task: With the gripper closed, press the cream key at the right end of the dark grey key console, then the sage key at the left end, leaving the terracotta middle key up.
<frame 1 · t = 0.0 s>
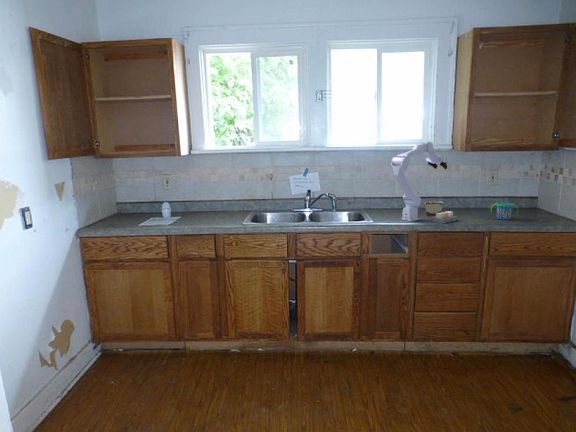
hand: (441, 167, 261), 32 cm above the worktop, tool tilted 50°, fingers open, 7 cm apart
key cream: (448, 214, 249), point 4 cm above the worktop, slide at 0.0 cm
key terracotta: (444, 215, 247), point 4 cm above the worktop, slide at 0.0 cm
key sage: (439, 216, 244), point 4 cm above the worktop, slide at 0.0 cm
key console: (444, 220, 247), on the worktop
snack cup: (503, 219, 250), on the worktop
half round cake: (432, 216, 264), on the worktop
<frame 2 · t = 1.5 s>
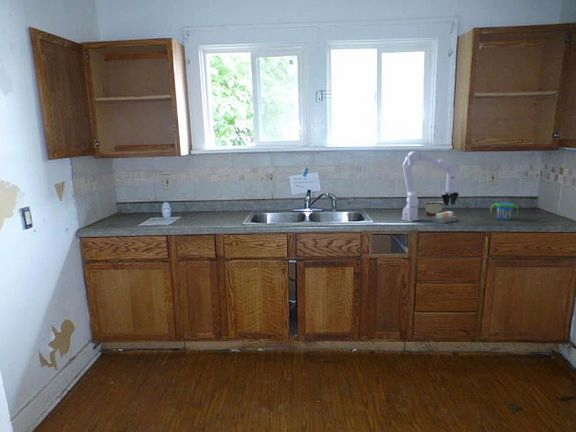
hand: (449, 204, 248), 10 cm above the worktop, tool pointing down, fingers open, 6 cm apart
nothing on the worktop moved.
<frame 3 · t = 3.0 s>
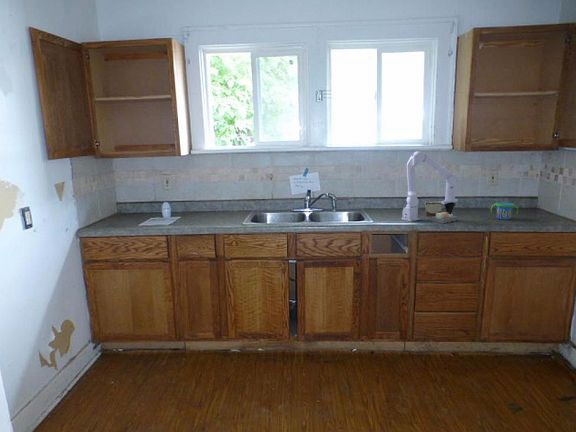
hand: (448, 214, 249), 4 cm above the worktop, tool pointing down, fingers closed, pressing on key cream
key cream: (448, 216, 249), point 2 cm above the worktop, slide at 1.5 cm, touching gripper
everything else where it was.
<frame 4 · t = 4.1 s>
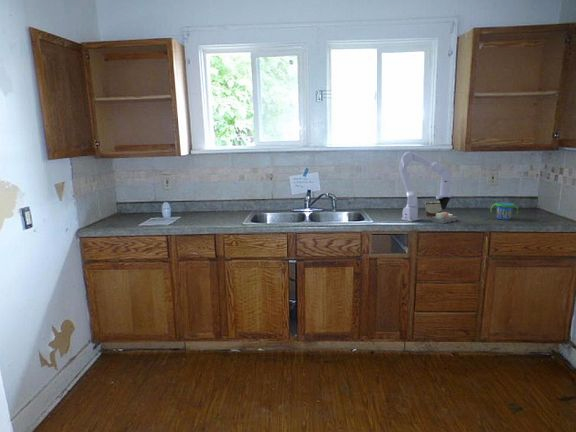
hand: (443, 209, 245), 8 cm above the worktop, tool pointing down, fingers closed
key cream: (448, 216, 249), point 2 cm above the worktop, slide at 1.6 cm
everything else where it was.
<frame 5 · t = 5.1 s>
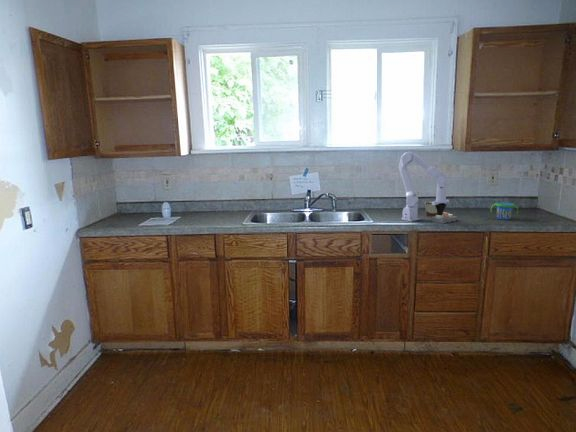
hand: (439, 215, 244), 4 cm above the worktop, tool pointing down, fingers closed, pressing on key sage
key sage: (439, 217, 244), point 3 cm above the worktop, slide at 1.0 cm, touching gripper
everything else where it was.
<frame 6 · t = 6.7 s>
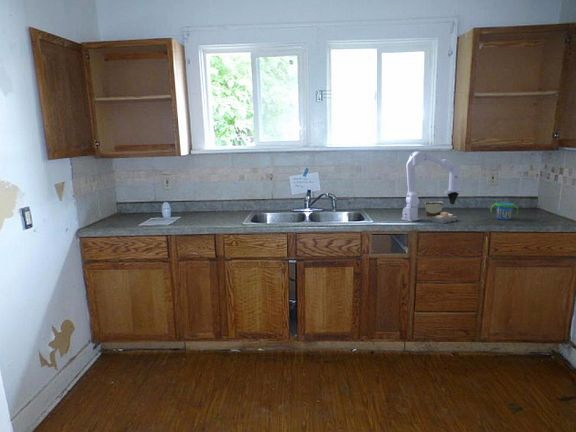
hand: (452, 203, 251), 10 cm above the worktop, tool pointing down, fingers closed
key sage: (439, 218, 245), point 2 cm above the worktop, slide at 1.6 cm
everything else where it was.
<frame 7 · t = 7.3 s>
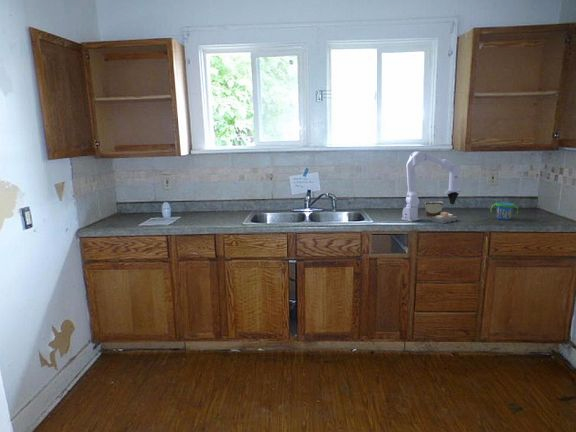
hand: (452, 204, 251), 10 cm above the worktop, tool pointing down, fingers closed
nothing on the worktop moved.
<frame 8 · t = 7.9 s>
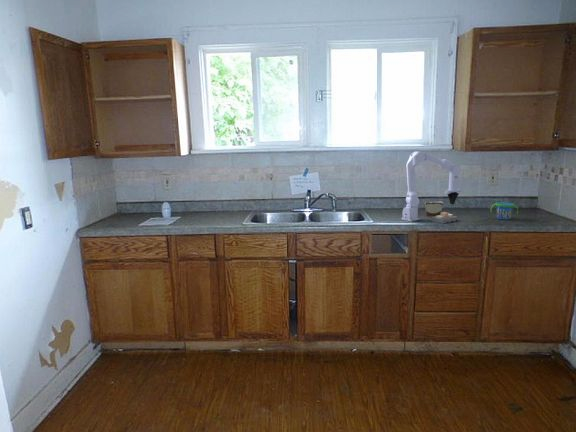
hand: (452, 204, 251), 10 cm above the worktop, tool pointing down, fingers closed
nothing on the worktop moved.
at the end: key cream slide at 1.6 cm; key sage slide at 1.6 cm; key terracotta slide at 0.0 cm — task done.
